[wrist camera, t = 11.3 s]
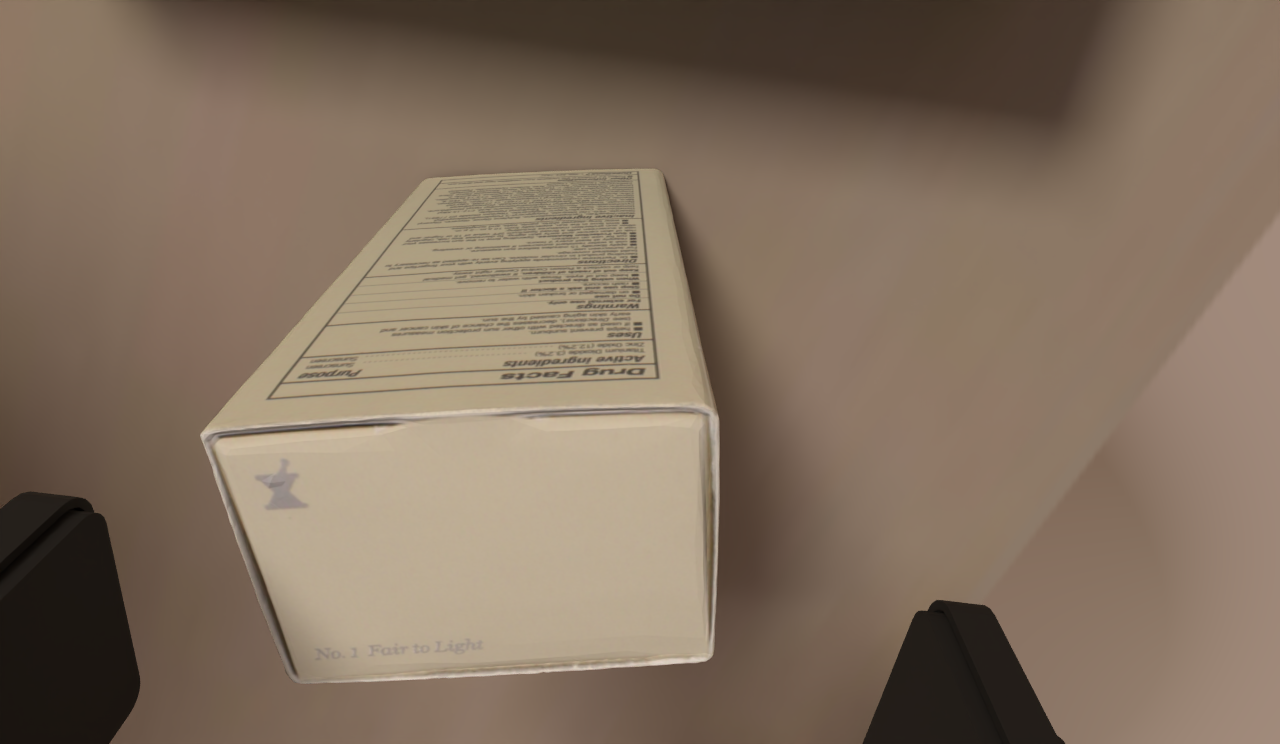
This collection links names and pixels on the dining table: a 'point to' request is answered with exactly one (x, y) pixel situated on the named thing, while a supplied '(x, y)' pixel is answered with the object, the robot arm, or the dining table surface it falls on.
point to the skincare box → (486, 443)
